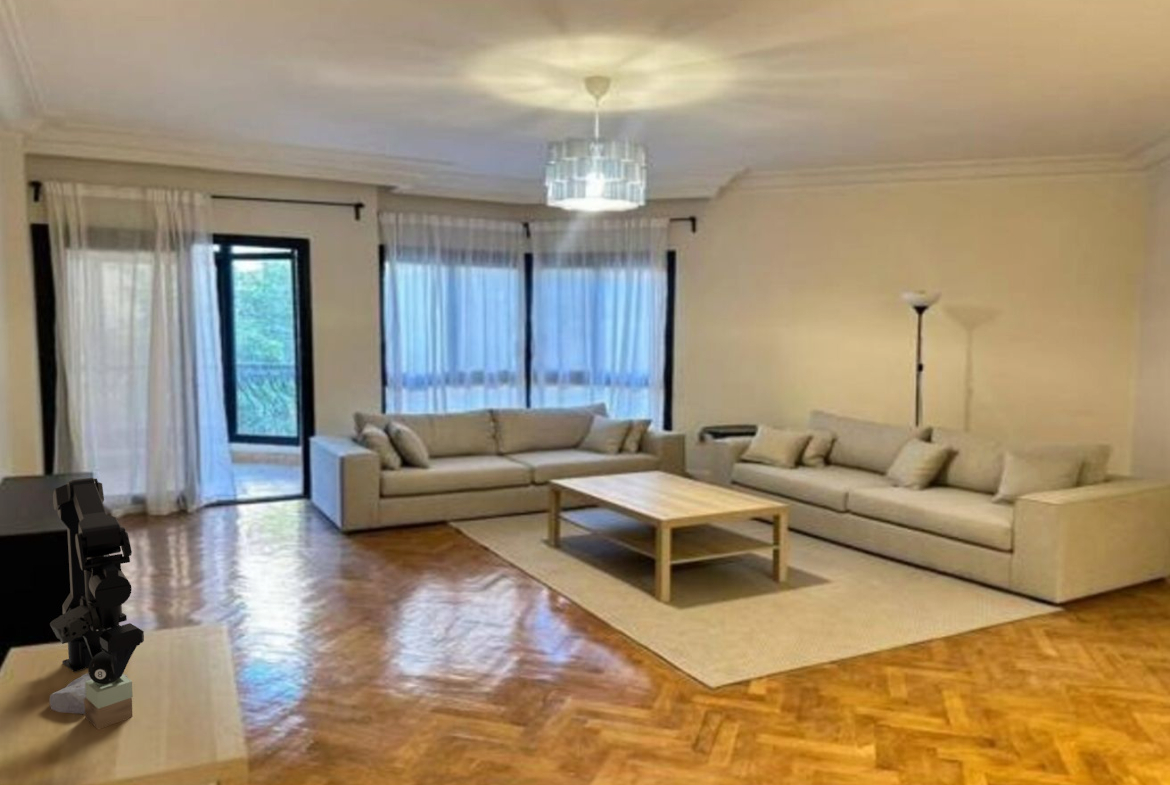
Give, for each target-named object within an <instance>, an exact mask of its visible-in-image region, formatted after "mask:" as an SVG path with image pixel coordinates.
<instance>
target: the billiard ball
mask: <svg viewBox="0 0 1170 785" xmlns="http://www.w3.org/2000/svg"><path fill="white" fill-rule="evenodd" d="M87 669H88V671H87V672H88V673H89V676H90V678H91V679H92V680H93V681H94V682H96V683H99V684H109V683H112V682H114V681H116V680H118V679H119V678H120V677H119V678H115V677H114V674H113V670H112V666H111V661H110V656H109V654H107V653H106V652H104V651H102V652H100V653H98V654H96V655H95V656H94V657H93V658H92V660H91V661H90V664H89V667H88V668H87ZM88 673H87V674H88ZM124 673H125V671H124V672H123V674H124Z"/></svg>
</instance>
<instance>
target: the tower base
mask: <svg viewBox="0 0 1170 785" xmlns="http://www.w3.org/2000/svg"><path fill="white" fill-rule="evenodd" d="M84 704H85V714H84V718H85V719H86V720H87V721H88V722H89V723H90V724H91V725H93V726H94V727H95V728H96V729H98V730H100V729H104V728H105V727H108V726H111V725H114V724H117V723H119V722H122V721H125V720H128V719H130V718H133V697H132V698H129V699H126V700H123V701H120V702H117V703H114V704H111V705H108V706H105V707H102V708H99V709H98V708H97V707H95V706H94V705H93V704H92V703H91V702H90V701H89V700H88V699H87V698H84Z"/></svg>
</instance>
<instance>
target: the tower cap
mask: <svg viewBox="0 0 1170 785" xmlns="http://www.w3.org/2000/svg"><path fill="white" fill-rule="evenodd" d="M125 675H126V674H124V673H123V674H122V676H121V677H120V678H119V679H118V680H116V681H114V682H112V683H109V684H99V683H96V682H94V681H93V680H89V681H86V682H85V690H86V698H87V699H88V700H89V701H90V702H91V703H92V704H93V705H94V706H95V707H97V708H98V709H99V708H102V707H105V706H108V705H111V704H114V703H117V702H120V701H123V700H126V699H129V698H132V699H133V680H131V679H130V678H128V676H127V677H126V676H125Z"/></svg>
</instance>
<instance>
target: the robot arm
mask: <svg viewBox="0 0 1170 785" xmlns="http://www.w3.org/2000/svg"><path fill="white" fill-rule="evenodd" d="M104 496H105V495H104V489H103V483H102V482H99V481H98V478H94V477H88V478H87V477H86V478H80V479H79V478H78V479H77V478H76V479H72V480H70V481H67V483H65V484H64V485H61V486H58V487H57V488H54V490H53V493H52V503H53V504H52V505H53V509H54V511H57V516H58V517H59V519H60V520H61V522H62V523H63V524H64V525H65V527H66V529H67V532H66V533H67V546H68V564H69V565H68V566H69V567H68V569H69V584H70V585H69V588H70V593H69V594H68V595H67V597H66V599H64V602H63V603H62V614H61V615H59V616H58V617H57V618H54V619H52V621H51V622H50V623H49V626H50V627H51V630H52V631H53V633H54V635H55V637H56V639H58V640H60V642H61V644H62V645H64V644H67V652H68V658H67V659H63V660H62V664H63V665H64V666H65V667H66V668H68V669H69V670H71V671H72V672H73V673H74V672H75V673H76V672H79V671H82V670H85V669H88V667H89V664H90V661H91V660H92V658H93V657H94V656H95V655H96V654H98V653H100V652H102V651H104V652H106V653H107V654H109V656H110V661H111V666H112V670H113V674H114V677H115V678H119V677H121V676H122V674H124V673H125V670H126V668H127V666H128V663H129V661H130V660H131V658H132V656H133V654H134V652H135V650H136V648H137V647H139V645H141V644H143V642H144V641H145V633H144V632H145V631H144V630H142V629H141V628H139V627H138V626H136V625H135V624H132V623H130V622H129V623H126V624H122V625H120V623H122V622H126V621H127V619H128V618H127V614H126V613H123V604H124V603H126V602H127V601H128V600H129V599H130V596H131V594H132V585H131V583H130V581H129V580H128V578H127V576H125V574H124V573H123V571H122V565H121V564H127V563H131V559H130V556H132V553H133V550H132V547H131V543H130V539H129V533H128V531H126V529H125V527H124V526H122V527H121V524H120V522H119V520H118V519H117V517H116V516H113V515H109V514H108V513H107V512H106V509H105V506H104V501H105V497H104ZM121 551H122V553H121ZM123 672H124V673H123Z"/></svg>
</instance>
